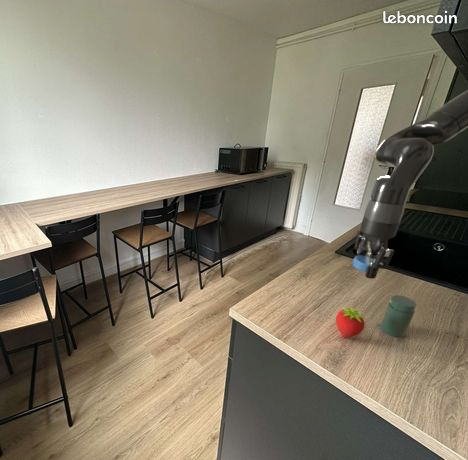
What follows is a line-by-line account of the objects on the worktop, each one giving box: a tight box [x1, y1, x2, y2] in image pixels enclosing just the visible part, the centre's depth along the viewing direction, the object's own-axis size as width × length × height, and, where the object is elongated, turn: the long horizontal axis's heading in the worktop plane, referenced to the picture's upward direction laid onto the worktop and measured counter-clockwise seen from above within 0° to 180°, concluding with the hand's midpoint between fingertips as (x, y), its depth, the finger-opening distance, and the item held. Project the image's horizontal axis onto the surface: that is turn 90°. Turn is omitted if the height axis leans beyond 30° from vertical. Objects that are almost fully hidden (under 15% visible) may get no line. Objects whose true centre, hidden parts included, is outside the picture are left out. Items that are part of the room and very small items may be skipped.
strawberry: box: [335, 306, 367, 339], centre depth 65 cm, size 6×8×10 cm
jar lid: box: [352, 254, 380, 273], centre depth 72 cm, size 6×6×2 cm
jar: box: [379, 294, 417, 339], centre depth 66 cm, size 5×5×10 cm
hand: (364, 271), depth 73 cm, fingers closed on jar lid, 6 cm apart
